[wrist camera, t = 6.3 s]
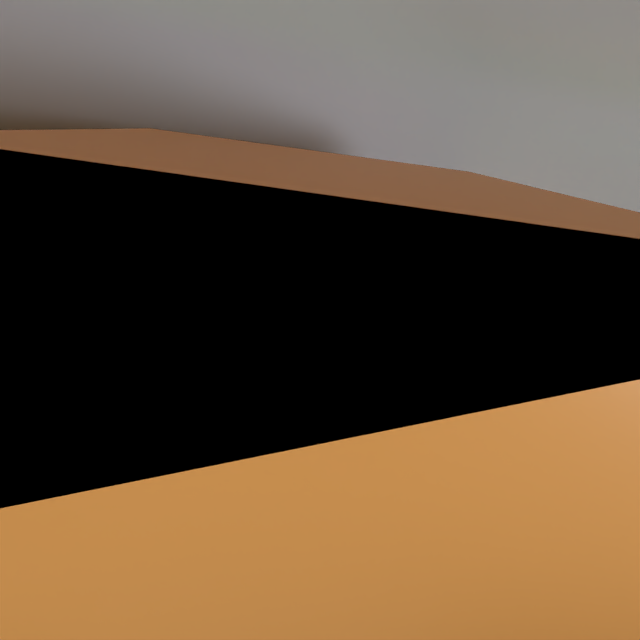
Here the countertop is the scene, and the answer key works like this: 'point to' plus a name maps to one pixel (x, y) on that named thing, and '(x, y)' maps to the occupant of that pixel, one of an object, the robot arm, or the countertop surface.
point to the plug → (310, 397)
